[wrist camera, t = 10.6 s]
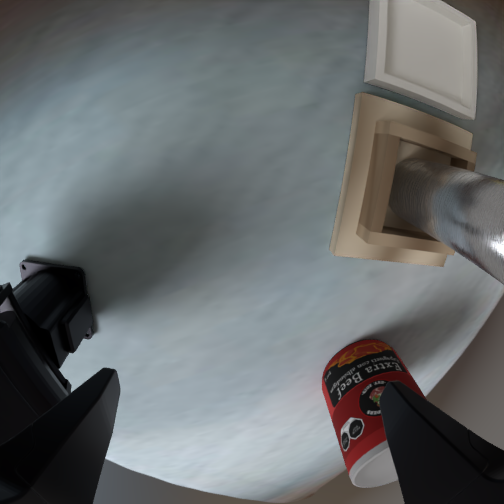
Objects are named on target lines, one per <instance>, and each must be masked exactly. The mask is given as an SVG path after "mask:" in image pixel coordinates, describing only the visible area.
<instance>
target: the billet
mask: <svg viewBox="0 0 504 504" xmlns="http://www.w3.org/2000/svg"><path fill="white" fill-rule="evenodd" d="M388 205H389V207H390V208H391V210H392V211H393V213H394V214H396V215H397V216H398V217H400V218H402V219H403V220H405V221H407V222H409V223H410V224H412V225H414V226H415V227H417V228H419V229H420V230H422V231H424V232H425V233H427V234H429V235H430V236H432V237H434V238H435V239H437V240H438V241H440V242H442V243H443V244H445V245H446V246H448V247H449V248H451V249H453V250H454V251H456V252H457V253H459V254H460V255H462V256H463V257H465V258H466V259H468V260H469V261H471V262H472V263H474V264H475V265H477V266H478V267H480V268H481V269H482V270H484V271H485V272H487V273H488V274H490V275H491V276H492V277H494V278H495V279H497V280H498V281H499V282H501V283H502V284H503V285H504V180H502V179H498V178H495V177H491V176H488V175H484V174H481V173H477V172H473V171H470V170H466V169H462V168H458V167H454V166H449V165H445V164H441V163H436V162H432V161H427V160H422V159H417V158H407V159H404V160H402V161H400V162H399V163H398V164H396V166H395V171H394V177H393V182H392V187H391V192H390V197H389V202H388Z"/></svg>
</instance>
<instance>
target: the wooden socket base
mask: <svg viewBox="0 0 504 504" xmlns="http://www.w3.org/2000/svg"><path fill="white" fill-rule="evenodd" d="M472 137H473V133H471V132H469V131H466V130H464V129H462V128H460V127H458V126H455V125H453V124H451V123H449V122H446V121H444V120H441V119H439V118H437V117H434V116H432V115H429V114H427V113H424V112H421V111H419V110H416V109H413V108H410V107H408V106H405V105H402V104H399V103H396V102H393V101H390V100H387V99H384V98H381V97H377V96H374V95H371V94H367V93H364V92H361V93H358V94H355V102H354V110H353V117H352V125H351V132H350V139H349V145H348V152H347V158H346V164H345V170H344V176H343V182H342V187H341V193H340V198H339V203H338V209H337V214H336V219H335V224H334V229H333V233H332V238H331V243H330V248H329V250H330V251H331V252H332V254H333V255H334V256H342V257H352V258H362V259H372V260H382V261H391V262H401V263H411V264H421V265H430V266H440V267H443V266H444V263H445V260H446V257H447V254H449V255H454V253H455V251H454V250H453V249H451V248H449V247H448V246H446V245H445V244H443V243H442V242H440V241H438V240H437V239H435V238H434V237H432V236H430V235H429V234H427V233H425V232H424V231H422V230H420V229H419V228H417V227H415V226H414V225H412V224H410V223H409V222H407V221H405V220H403V219H402V218H400V217H398V216H397V215H396V214H394V213H393V211H392V210H391V208H390V207H389V205H388V202H389V197H390V192H391V187H392V182H393V177H394V171H395V166H396V164H398V163H399V162H400V161H402V160H404V159H407V158H417V159H422V160H427V161H432V162H436V163H441V164H445V165H449V166H454V167H458V168H462V169H466V170H470V171H473V172H474V169H475V163H476V156H477V153H476V152H473V151H471V144H472Z"/></svg>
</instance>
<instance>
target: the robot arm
mask: <svg viewBox="0 0 504 504" xmlns="http://www.w3.org/2000/svg"><path fill="white" fill-rule="evenodd" d="M24 265H25V266H26V268H25V266H24ZM20 271H21V277H22V281H21V282H20V283H19V284H18V285H17V286H16V287H14V288H13V289H12V286H11V284H10V282H9V283H6V284H3V285H0V504H93V500H94V497H95V493H96V489H97V485H98V481H99V478H100V474H101V471H102V467H103V464H104V460H105V457H106V453H107V450H108V447H109V443H110V440H111V437H112V433H113V428H114V423H115V417H116V412H117V407H118V401H119V396H120V384H119V379H118V374H117V371H116V370H115V369H111V368H102V369H101V370H100V371H99V372H97V373H96V374H95V375H93V376H92V377H91V378H90V379H88V380H87V381H86V382H84V383H83V384H82V385H81V386H79V387H78V388H77V389H75V390H74V391H73V392H71V384H70V382H69V381H68V380H67V379H65V378H64V376H63V375H62V373H61V372H60V371H59V369H60V367H61V366H62V364H63V362H64V361H65V359H66V357H67V356H68V354H69V353H74V352H75V351H76V350H77V348H78V346H79V345H80V343H81V341H82V340H83V338H84V339H91V338H92V336H93V328H92V324H93V319H92V313H91V306H90V299H89V296H88V295H87V289H86V281H85V273H84V271H83V270H82V269H81V268H79V267H72V266H64V265H57V264H50V263H43V262H36V261H30V260H23V261H22V262H21V263H20ZM77 273H79V275H80V276H78V275H77ZM87 333H88V334H87ZM379 405H380V410H381V415H382V420H383V425H384V430H385V435H386V439H387V442H388V446H389V449H390V452H391V456H392V459H393V463H394V466H395V469H396V473H397V477H398V480H399V484H400V487H401V491H402V495H403V498H404V502H405V504H504V450H502V449H500V448H498V447H496V446H494V445H493V444H491V443H489V442H487V441H486V440H484V439H482V438H481V437H479V436H478V435H476V434H475V433H473V432H472V431H471V430H469V429H468V430H467V428H466V427H465V426H463V425H462V424H460V423H459V422H457V421H456V420H455V419H453V418H451V417H450V416H449V415H447V414H446V413H444V412H443V411H442V410H440V409H439V408H437V407H436V406H434V405H433V404H432V403H430V402H429V401H427V400H426V399H425V398H423V397H422V396H420V395H419V394H417V393H416V392H415V391H413V390H412V389H410V388H409V387H408V386H406V385H405V384H403V383H402V382H401V381H389V382H388V383H387V384H386V386H385V388H384V390H383V392H382V394H381V396H380V398H379Z"/></svg>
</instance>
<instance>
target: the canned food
mask: <svg viewBox="0 0 504 504" xmlns="http://www.w3.org/2000/svg"><path fill="white" fill-rule="evenodd" d="M389 381H401V382H402V383H403V384H405V385H406V386H408V387H409V388H410V389H412V390H413V391H415V392H416V393H417V394H419V395H420V396H422V397H423V398H425V396H424V395H423V393H422V391H421V390H420V388H419V387H418V385H417V384H416V382H415V380H414V379H413V377H412V376H411V374H410V373H409V371H408V370H407V368H406V367H405V365H404V364H403V362H402V361H401V359H400V358H399V356H398V355H397V353H396V352H395V350H394V349H393V348H392V347H390V346H389V345H387V344H386V343H384V342H382V341H379V340H363V341H359V342H356V343H354V344H351V345H349V346H347V347H346V348H344V349H342V350H341V351H340V352H338V353H337V354H336V355H335V356H334V357H333V358H332V359H331V360H330V361H329V363H328V364H327V366H326V368H325V370H324V372H323V377H322V391H323V394H324V397H325V400H326V403H327V406H328V410H329V413H330V416H331V419H332V422H333V426H334V429H335V432H336V435H337V438H338V442H339V445H340V448H341V452H342V455H343V458H344V461H345V465H346V467H347V470H348V474H349V476H350V479H351V480H352V483H353V484H354V485H355V486H357V487H366V488H367V487H376V486H381V485H384V484H388V483H391V482H393V481H396V480H398V477H397V473H396V469H395V466H394V463H393V459H392V456H391V452H390V449H389V446H388V442H387V439H386V435H385V430H384V425H383V420H382V415H381V410H380V405H379V398H380V396H381V394H382V392H383V390H384V388H385V386H386V384H387V383H388V382H389ZM425 399H426V398H425ZM426 400H427V399H426Z"/></svg>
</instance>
